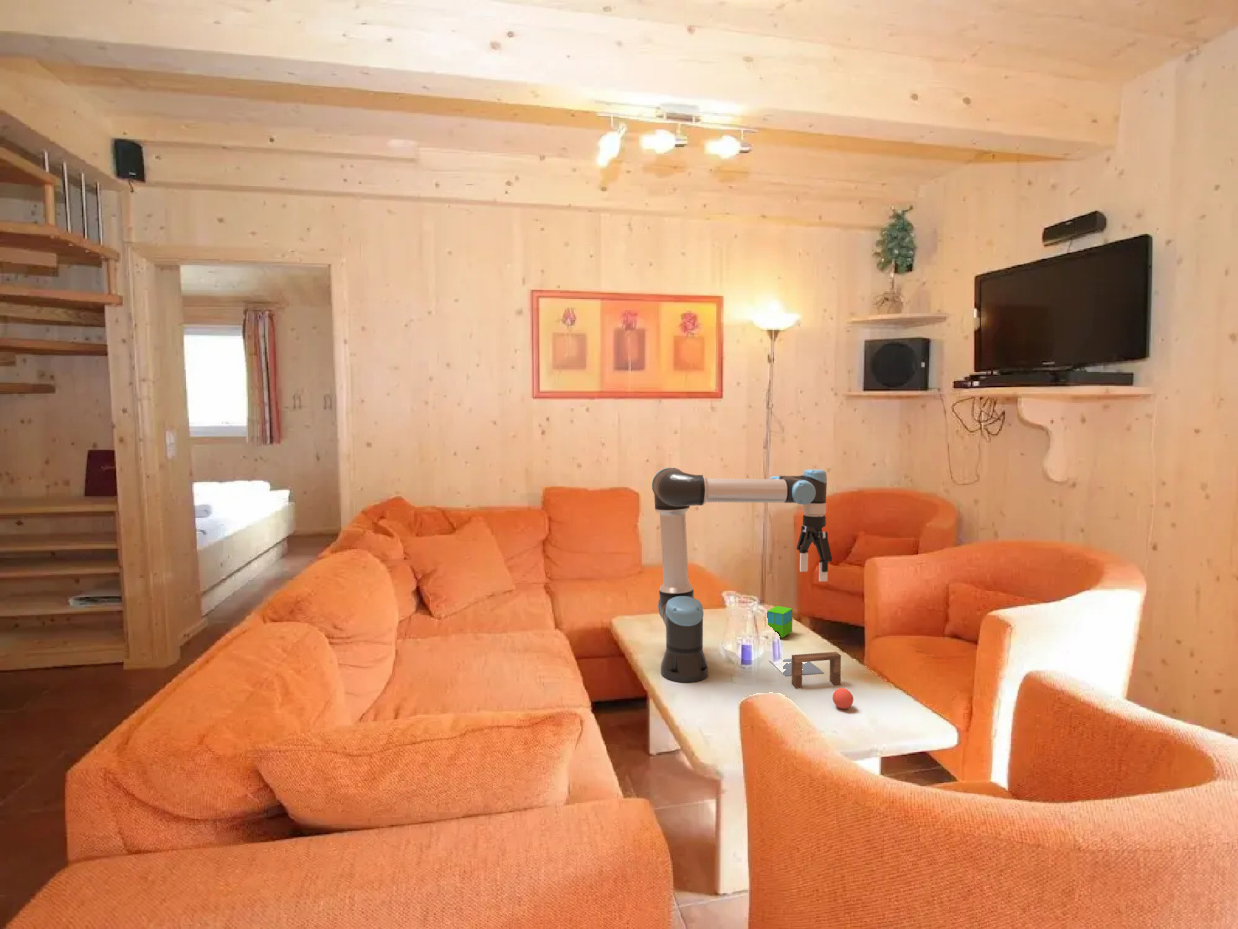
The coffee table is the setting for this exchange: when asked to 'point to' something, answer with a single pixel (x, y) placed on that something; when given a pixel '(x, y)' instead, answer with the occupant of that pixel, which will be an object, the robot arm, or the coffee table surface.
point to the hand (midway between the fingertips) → (813, 576)
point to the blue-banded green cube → (780, 620)
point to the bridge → (832, 656)
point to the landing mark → (807, 668)
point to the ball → (842, 698)
